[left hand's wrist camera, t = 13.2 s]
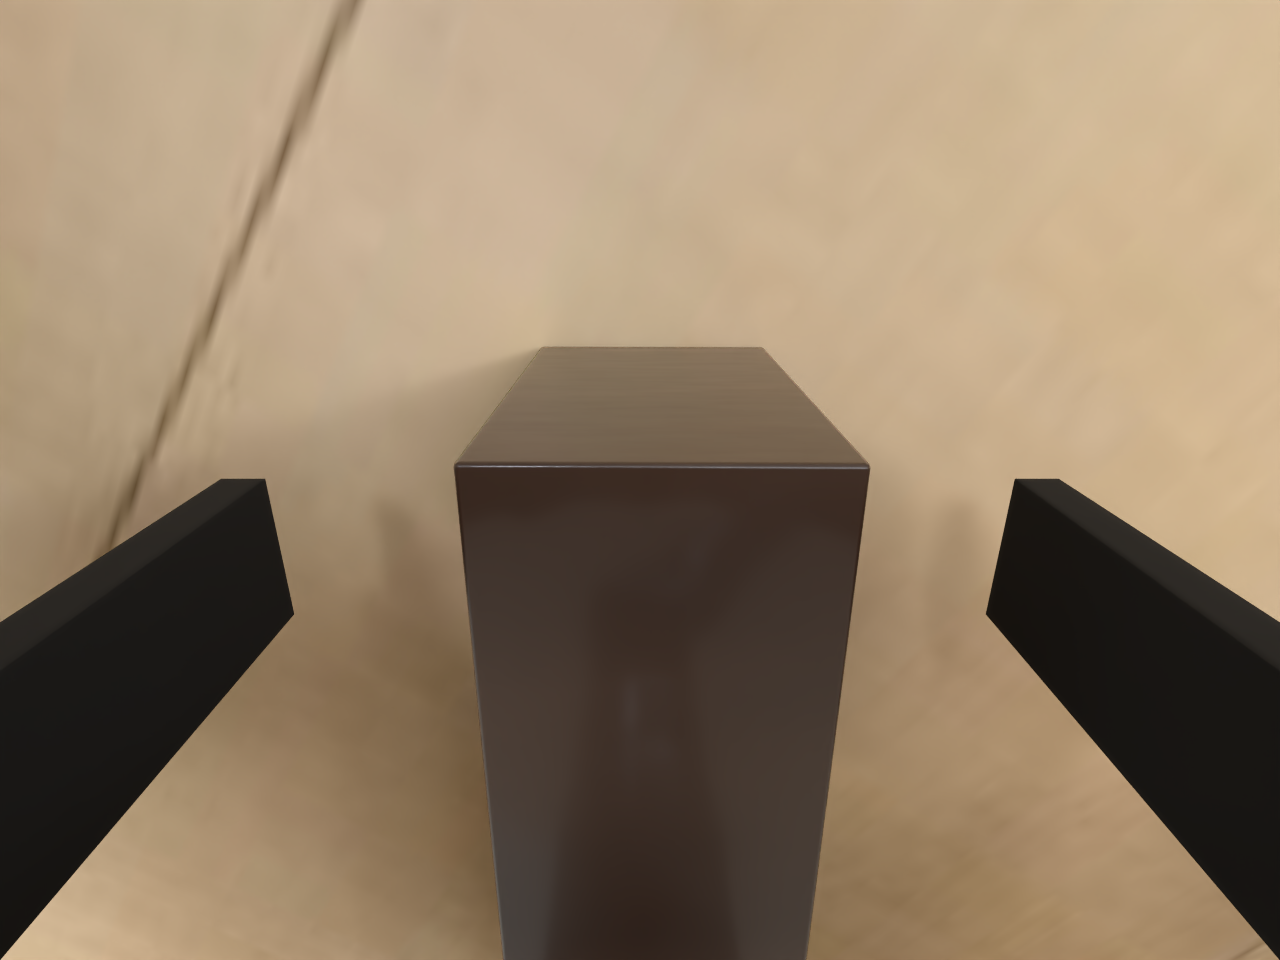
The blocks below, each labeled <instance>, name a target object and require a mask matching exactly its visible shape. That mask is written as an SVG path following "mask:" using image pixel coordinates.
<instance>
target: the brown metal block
mask: <svg viewBox="0 0 1280 960" xmlns="http://www.w3.org/2000/svg"><path fill="white" fill-rule="evenodd" d="M454 474H455V484H456V494H457V504H458V513H459V523H460V533H461V543H462V553H463V563H464V573H465V583H466V593H467V603H468V613H469V623H470V633H471V643H472V653H473V663H474V673H475V683H476V693H477V703H478V713H479V723H480V733H481V743H482V753H483V763H484V773H485V783H486V793H487V802H488V812H489V822H490V832H491V842H492V852H493V862H494V872H495V882H496V892H497V902H498V912H499V922H500V932H501V942H502V952H503V960H806V958H807V951H808V943H809V935H810V928H811V920H812V912H813V905H814V897H815V889H816V882H817V874H818V866H819V858H820V851H821V843H822V835H823V828H824V820H825V812H826V805H827V797H828V789H829V782H830V774H831V766H832V758H833V751H834V743H835V735H836V728H837V720H838V712H839V705H840V697H841V689H842V682H843V674H844V666H845V659H846V651H847V643H848V635H849V628H850V620H851V612H852V605H853V597H854V589H855V582H856V574H857V566H858V559H859V551H860V543H861V536H862V528H863V520H864V512H865V505H866V497H867V489H868V482H869V474H870V465H869V463H868V462H867V461H866V460H865V459H864V458H863V457H862V456H861V455H860V454H859V452H858V451H857V450H856V449H855V448H854V447H853V446H852V445H851V444H850V443H849V441H848V440H847V439H846V438H845V437H844V436H843V435H842V434H841V433H840V432H839V431H838V429H837V428H836V427H835V426H834V425H833V424H832V423H831V422H830V421H829V420H828V419H827V417H826V416H825V415H824V414H823V413H822V412H821V411H820V410H819V409H818V408H817V406H816V405H815V404H814V403H813V402H812V401H811V400H810V399H809V398H808V397H807V396H806V394H805V393H804V392H803V391H802V390H801V389H800V388H799V387H798V386H797V385H796V384H795V382H794V381H793V380H792V379H791V378H790V377H789V376H788V375H787V374H786V373H785V371H784V370H783V369H782V368H781V367H780V366H779V365H778V364H777V363H776V362H775V361H774V359H773V358H772V357H771V356H770V355H769V354H768V353H767V352H766V351H765V350H764V349H763V348H739V347H542V348H541V349H540V351H539V352H538V353H537V355H536V356H535V357H534V359H533V360H532V361H531V363H530V364H529V365H528V367H527V368H526V369H525V371H524V372H523V373H522V375H521V376H520V377H519V379H518V380H517V381H516V383H515V384H514V385H513V386H512V388H511V389H510V390H509V392H508V393H507V394H506V396H505V397H504V398H503V400H502V401H501V402H500V404H499V405H498V406H497V408H496V409H495V410H494V412H493V413H492V414H491V416H490V417H489V418H488V420H487V421H486V422H485V424H484V425H483V426H482V428H481V429H480V430H479V432H478V433H477V434H476V436H475V437H474V438H473V440H472V441H471V442H470V444H469V445H468V446H467V448H466V449H465V450H464V452H463V453H462V454H461V456H460V457H459V458H458V460H457V461H456V462H455V465H454Z"/></svg>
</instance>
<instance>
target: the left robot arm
mask: <svg viewBox="0 0 1280 960" xmlns="http://www.w3.org/2000/svg"><path fill="white" fill-rule="evenodd" d="M293 615H294V611H293V607H292V602H291V597H290V593H289V588H288V583H287V579H286V574H285V569H284V565H283V560H282V555H281V551H280V546H279V542H278V537H277V532H276V528H275V523H274V518H273V514H272V509H271V504H270V500H269V495H268V490H267V486H266V481H265V479H220V480H219V481H217V482H216V483H214V484H213V485H211V486H210V487H208V488H207V489H205V490H203V491H202V492H200V493H199V494H197V495H196V496H194V497H193V498H191V499H190V500H188V501H186V502H185V503H183V504H182V505H180V506H179V507H177V508H176V509H174V510H173V511H171V512H170V513H168V514H166V515H165V516H163V517H162V518H160V519H159V520H157V521H156V522H154V523H153V524H151V525H150V526H148V527H146V528H145V529H143V530H142V531H140V532H139V533H137V534H136V535H134V536H133V537H131V538H129V539H128V540H126V541H125V542H123V543H122V544H120V545H119V546H117V547H116V548H114V549H113V550H111V551H109V552H108V553H106V554H105V555H103V556H102V557H100V558H99V559H97V560H96V561H94V562H92V563H91V564H89V565H88V566H86V567H85V568H83V569H82V570H80V571H79V572H77V573H76V574H74V575H72V576H71V577H69V578H68V579H66V580H65V581H63V582H62V583H60V584H59V585H57V586H55V587H54V588H52V589H51V590H49V591H48V592H46V593H45V594H43V595H42V596H40V597H39V598H37V599H35V600H34V601H32V602H31V603H29V604H28V605H26V606H25V607H23V608H22V609H20V610H19V611H17V612H15V613H14V614H12V615H11V616H9V617H8V618H6V619H5V620H3V621H2V622H0V960H1V958H2V957H3V956H4V955H5V954H6V953H7V951H8V950H9V949H10V948H11V947H12V945H13V944H14V943H15V942H16V941H17V940H18V938H19V937H20V936H21V935H22V934H23V933H24V931H25V930H26V929H27V928H28V927H29V925H30V924H31V923H32V922H33V921H34V920H35V918H36V917H37V916H38V915H39V914H40V913H41V911H42V910H43V909H44V908H45V907H46V905H47V904H48V903H49V902H50V901H51V900H52V898H53V897H54V896H55V895H56V894H57V893H58V891H59V890H60V889H61V888H62V887H63V885H64V884H65V883H66V882H67V881H68V880H69V878H70V877H71V876H72V875H73V874H74V873H75V871H76V870H77V869H78V868H79V867H80V865H81V864H82V863H83V862H84V861H85V860H86V858H87V857H88V856H89V855H90V854H91V853H92V851H93V850H94V849H95V848H96V847H97V845H98V844H99V843H100V842H101V841H102V840H103V838H104V837H105V836H106V835H107V834H108V833H109V831H110V830H111V829H112V828H113V827H114V825H115V824H116V823H117V822H118V821H119V820H120V818H121V817H122V816H123V815H124V814H125V813H126V811H127V810H128V809H129V808H130V807H131V805H132V804H133V803H134V802H135V801H136V800H137V798H138V797H139V796H140V795H141V794H142V793H143V791H144V790H145V789H146V788H147V787H148V785H149V784H150V783H151V782H152V781H153V780H154V778H155V777H156V776H157V775H158V774H159V773H160V771H161V770H162V769H163V768H164V767H165V765H166V764H167V763H168V762H169V761H170V760H171V758H172V757H173V756H174V755H175V754H176V753H177V751H178V750H179V749H180V748H181V747H182V745H183V744H184V743H185V742H186V741H187V740H188V738H189V737H190V736H191V735H192V734H193V733H194V731H195V730H196V729H197V728H198V727H199V725H200V724H201V723H202V722H203V721H204V720H205V718H206V717H207V716H208V715H209V714H210V713H211V711H212V710H213V709H214V708H215V707H216V705H217V704H218V703H219V702H220V701H221V700H222V698H223V697H224V696H225V695H226V694H227V693H228V691H229V690H230V689H231V688H232V687H233V685H234V684H235V683H236V682H237V681H238V680H239V678H240V677H241V676H242V675H243V674H244V673H245V671H246V670H247V669H248V668H249V667H250V665H251V664H252V663H253V662H254V661H255V660H256V658H257V657H258V656H259V655H260V654H261V653H262V651H263V650H264V649H265V648H266V647H267V645H268V644H269V643H270V642H271V641H272V640H273V638H274V637H275V636H276V635H277V634H278V633H279V631H280V630H281V629H282V628H283V627H284V625H285V624H286V623H287V622H288V621H289V620H290V618H291V617H292V616H293ZM986 615H987V616H988V617H989V618H990V620H991V621H992V622H993V623H994V624H995V625H996V627H997V628H998V629H999V630H1000V631H1001V633H1002V634H1003V635H1004V636H1005V637H1006V638H1007V640H1008V641H1009V642H1010V643H1011V644H1012V645H1013V647H1014V648H1015V649H1016V650H1017V651H1018V653H1019V654H1020V655H1021V656H1022V657H1023V658H1024V660H1025V661H1026V662H1027V663H1028V664H1029V665H1030V667H1031V668H1032V669H1033V670H1034V671H1035V673H1036V674H1037V675H1038V676H1039V677H1040V678H1041V680H1042V681H1043V682H1044V683H1045V684H1046V685H1047V687H1048V688H1049V689H1050V690H1051V691H1052V693H1053V694H1054V695H1055V696H1056V697H1057V698H1058V700H1059V701H1060V702H1061V703H1062V704H1063V705H1064V707H1065V708H1066V709H1067V710H1068V711H1069V713H1070V714H1071V715H1072V716H1073V717H1074V718H1075V720H1076V721H1077V722H1078V723H1079V724H1080V725H1081V727H1082V728H1083V729H1084V730H1085V731H1086V733H1087V734H1088V735H1089V736H1090V737H1091V738H1092V740H1093V741H1094V742H1095V743H1096V744H1097V745H1098V747H1099V748H1100V749H1101V750H1102V751H1103V753H1104V754H1105V755H1106V756H1107V757H1108V758H1109V760H1110V761H1111V762H1112V763H1113V764H1114V765H1115V767H1116V768H1117V769H1118V770H1119V771H1120V773H1121V774H1122V775H1123V776H1124V777H1125V778H1126V780H1127V781H1128V782H1129V783H1130V784H1131V785H1132V787H1133V788H1134V789H1135V790H1136V791H1137V793H1138V794H1139V795H1140V796H1141V797H1142V798H1143V800H1144V801H1145V802H1146V803H1147V804H1148V805H1149V807H1150V808H1151V809H1152V810H1153V811H1154V813H1155V814H1156V815H1157V816H1158V817H1159V818H1160V820H1161V821H1162V822H1163V823H1164V824H1165V825H1166V827H1167V828H1168V829H1169V830H1170V831H1171V833H1172V834H1173V835H1174V836H1175V837H1176V838H1177V840H1178V841H1179V842H1180V843H1181V844H1182V845H1183V847H1184V848H1185V849H1186V850H1187V851H1188V853H1189V854H1190V855H1191V856H1192V857H1193V858H1194V860H1195V861H1196V862H1197V863H1198V864H1199V865H1200V867H1201V868H1202V869H1203V870H1204V871H1205V873H1206V874H1207V875H1208V876H1209V877H1210V878H1211V880H1212V881H1213V882H1214V883H1215V884H1216V885H1217V887H1218V888H1219V889H1220V890H1221V891H1222V893H1223V894H1224V895H1225V896H1226V897H1227V898H1228V900H1229V901H1230V902H1231V903H1232V904H1233V905H1234V907H1235V908H1236V909H1237V910H1238V911H1239V913H1240V914H1241V915H1242V916H1243V917H1244V918H1245V920H1246V921H1247V922H1248V923H1249V924H1250V925H1251V927H1252V928H1253V929H1254V930H1255V931H1256V933H1257V934H1258V935H1259V936H1260V937H1261V938H1262V940H1263V941H1264V942H1265V943H1266V944H1267V945H1268V947H1269V948H1270V949H1271V950H1272V951H1273V953H1274V954H1275V955H1276V956H1277V957H1278V958H1279V960H1280V622H1278V621H1277V620H1275V619H1274V618H1272V617H1271V616H1269V615H1268V614H1266V613H1265V612H1263V611H1261V610H1260V609H1258V608H1257V607H1255V606H1254V605H1252V604H1251V603H1249V602H1248V601H1246V600H1245V599H1243V598H1241V597H1240V596H1238V595H1237V594H1235V593H1234V592H1232V591H1231V590H1229V589H1228V588H1226V587H1224V586H1223V585H1221V584H1220V583H1218V582H1217V581H1215V580H1214V579H1212V578H1211V577H1209V576H1208V575H1206V574H1204V573H1203V572H1201V571H1200V570H1198V569H1197V568H1195V567H1194V566H1192V565H1191V564H1189V563H1188V562H1186V561H1184V560H1183V559H1181V558H1180V557H1178V556H1177V555H1175V554H1174V553H1172V552H1171V551H1169V550H1167V549H1166V548H1164V547H1163V546H1161V545H1160V544H1158V543H1157V542H1155V541H1154V540H1152V539H1151V538H1149V537H1147V536H1146V535H1144V534H1143V533H1141V532H1140V531H1138V530H1137V529H1135V528H1134V527H1132V526H1130V525H1129V524H1127V523H1126V522H1124V521H1123V520H1121V519H1120V518H1118V517H1117V516H1115V515H1114V514H1112V513H1110V512H1109V511H1107V510H1106V509H1104V508H1103V507H1101V506H1100V505H1098V504H1097V503H1095V502H1094V501H1092V500H1090V499H1089V498H1087V497H1086V496H1084V495H1083V494H1081V493H1080V492H1078V491H1077V490H1075V489H1073V488H1072V487H1070V486H1069V485H1067V484H1066V483H1064V482H1063V481H1061V480H1060V479H1015V481H1014V486H1013V490H1012V495H1011V500H1010V504H1009V509H1008V514H1007V518H1006V523H1005V528H1004V532H1003V537H1002V542H1001V546H1000V551H999V555H998V560H997V565H996V569H995V574H994V579H993V583H992V588H991V593H990V597H989V602H988V607H987V611H986Z"/></svg>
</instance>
